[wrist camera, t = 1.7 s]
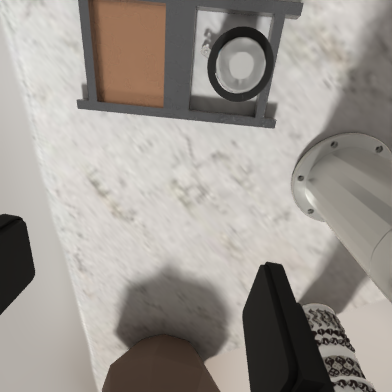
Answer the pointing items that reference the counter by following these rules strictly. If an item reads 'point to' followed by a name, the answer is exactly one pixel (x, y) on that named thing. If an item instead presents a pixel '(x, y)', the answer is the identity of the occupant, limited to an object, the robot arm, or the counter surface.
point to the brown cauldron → (159, 368)
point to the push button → (240, 63)
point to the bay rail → (161, 55)
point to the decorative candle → (336, 350)
